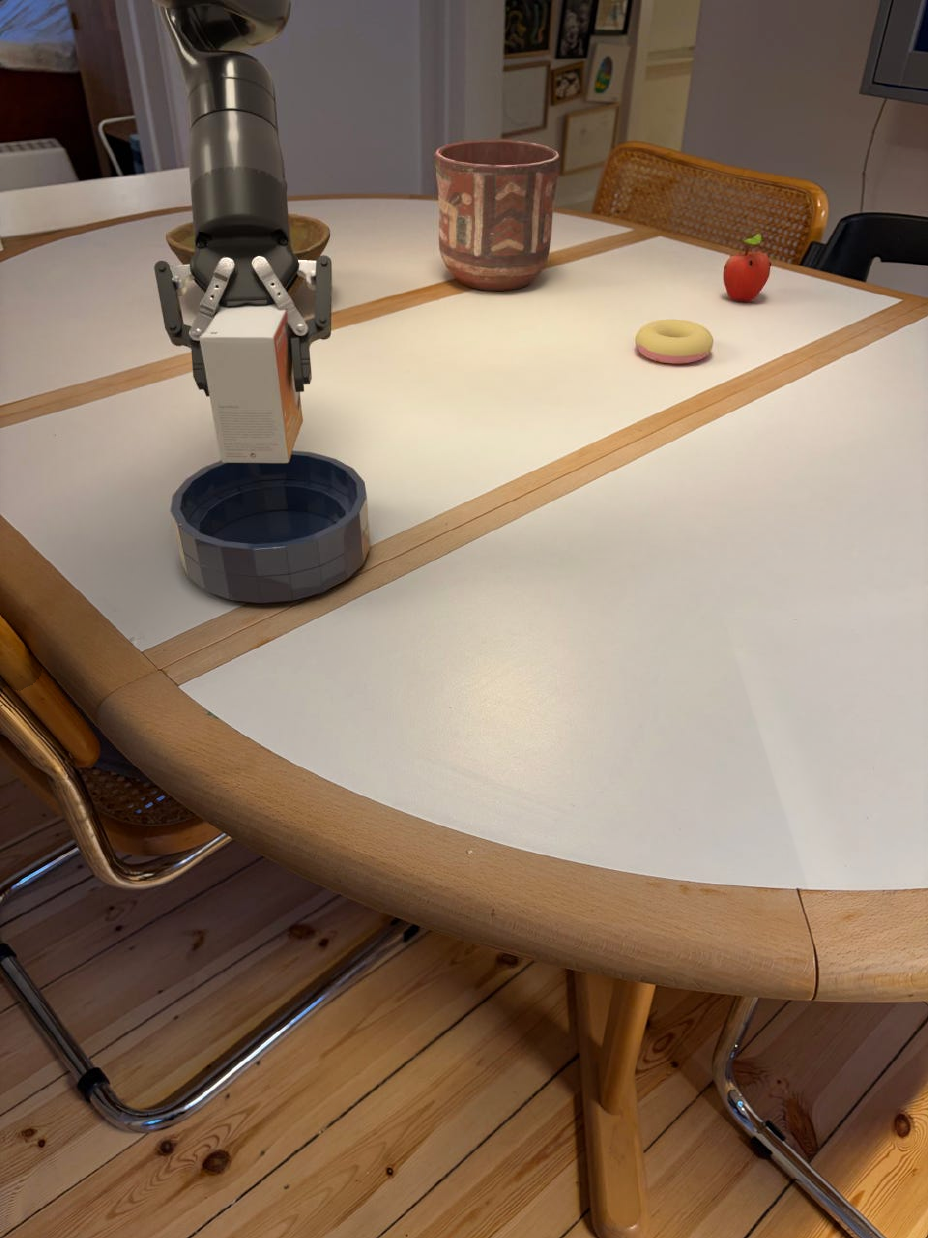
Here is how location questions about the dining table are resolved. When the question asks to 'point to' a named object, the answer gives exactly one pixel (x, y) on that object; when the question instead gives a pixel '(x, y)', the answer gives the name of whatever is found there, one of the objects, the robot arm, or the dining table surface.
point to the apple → (746, 273)
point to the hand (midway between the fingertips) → (255, 390)
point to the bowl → (304, 234)
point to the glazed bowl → (272, 527)
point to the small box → (252, 384)
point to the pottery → (495, 211)
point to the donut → (674, 341)
